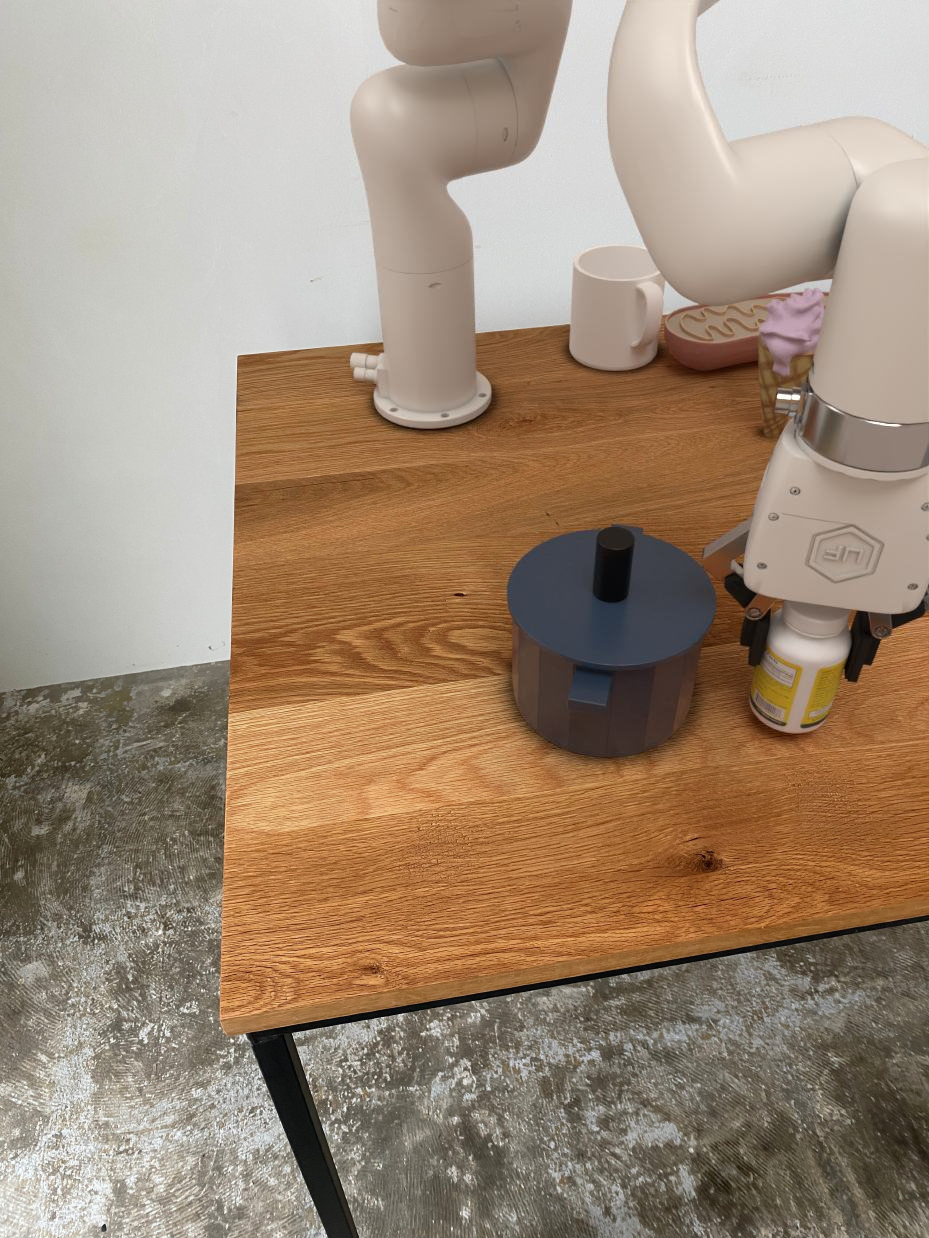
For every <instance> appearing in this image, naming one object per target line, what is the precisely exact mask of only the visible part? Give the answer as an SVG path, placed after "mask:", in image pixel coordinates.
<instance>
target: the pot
mask: <svg viewBox="0 0 929 1238" xmlns="http://www.w3.org/2000/svg"><path fill="white" fill-rule="evenodd" d="M610 527H622V528H625V529H627V530H629V531H632V532H638V533H641V534H644V527H641V526H634V525H627V524H626V525H625V524H619V523H610ZM511 620H512V624H511V625H512V627H511V629H512V630H511V635H512V636H511V638H512V639H511V640H512V641H511V646H512V647H511V658H512V659H511V683H512V688H513V696H514V701H515V705H516V706H517V709H518V711H519V712H520V715H521V717H522V719H524V721H525V722H526V724H527V726H529V727H530V728H531V729H532V730H533V731H534V732H535V733H536V734H538V735H539V736H540V737H542V738H543V739H544V740H546V741H547V742H549V743H551V744H553V745H555V746H556V747H558V748H560V749H562V750H565V751H568V752H571V753H574V754H578V755H583V756H587V757H595V758H622V757H628V756H635V755H638V754H642V753H644V752H645V753H646V752H647V751H650V750H652V749H655V748H656V747H658V746H660V745H662V744H663V743H665V742H667V741H668V740H669V739H671V738H672V737H673V736H674V735H675V734H676V733H677V731H678V730H679V729H680V728H681V727H682V725H683V723H684V722H685V720H686V718H687V715H688V714H689V712H690V708H691V704H692V699H693V694H694V689H695V683H696V679H697V673H698V669H699V664H700V659H701V653H702V648H703V642H704V639H703V640H702V641H701V642H700V643H699V644H698V645H697V646H696V647H694V648H693V649H692V650H690V651H689V652H688V653H686V654H684V655H682V656H681V657H679V658H677V659H675V660H672V661H670V662H667V663H665V664H661V665H658V666H654V667H650V668H644V669H638V670H624V671H619V670H602V669H593V668H589V667H584V666H579V665H576V664H573V663H570V662H567V661H564V660H562V659H559V658H557V657H555V656H552V655H551V654H549V653H547V652H545V651H543V650H542V649H540V648H539V647H538V646H536V645H535V644H533V643H532V642H531V641H530V640H529V639H528V638H527V637H526V636H524V635H523V633H522V632H521V631H520V630H519V628H518V627H517V626H516V624H515V622H514V621H513V619H512V618H511Z"/></svg>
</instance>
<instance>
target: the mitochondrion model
mask: <svg viewBox="0 0 929 1238" xmlns="http://www.w3.org/2000/svg"><path fill="white" fill-rule="evenodd" d="M829 292H830V291H822V293H823V295H824V298H823V305H824V310H825V308H826V304H827V300H828V296H829ZM803 293H804V291H795V292H794V291H793V292H792V291H791V292H778V293H777V292H774V293H769V294H766V295H763V296H760V297H756V298H753V299H750V300H747V301H742V302H738V303H734V304H730V305H724V306H709V305H701V304H698V303H696V304H692V305H689V306H688V305H687V306H683V307H680V308H678V309H674V310H672V312H670V313H669V314H668V315H667V316H666V317H665V319H664V325H663V326H664V327H663V330H664V331H663V334H664V335H663V336H664V341H665V345H666V347H667V348H668V350H669V352H670V354H671V355H672V356H673V357H674V358H675V359H676V360H677V361H678V362H679V363H680V364H681V365H683V366H685V367H687V368H689V369H692V370H696V371H712V370H717V369H720V368H726V367H730V366H735V365H740V364H745V363H751V362H758V337H759V334H760V332H759V326H760V324H762V322H765V321H766V320H767V318H768V316H769V312H768V311H767V310H766V307H765V306H766V305H767V304H769V303H770V302H771V301H772V300H774V299H779V300H781V301H785V300H787V299H790V295H791V294H797V295H800V296H802V295H803Z"/></svg>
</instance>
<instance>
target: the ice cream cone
mask: <svg viewBox="0 0 929 1238" xmlns="http://www.w3.org/2000/svg"><path fill="white" fill-rule="evenodd" d="M803 292H804V293H803V295H802V296H800V295H797V294H791V295H790V299H787V300H785V301H781V300H779V299H774V300H772V301H771V302H770V303H769V304H767V305H766V306H765V307H766V310H767V311H768V312H769V316H768V318H767V320H766V321H765V322H762V324H760V326H759V332H760V334H759V337H758V360H757V367H758V368H757V369H758V370H757V371H758V387H759V388H758V389H759V396H760V397H759V398H760V399H759V400H760V409H761V418H762V419H761V420H762V426H763V435H764V436H765V437H767V438H771V439H775V438H778V436H780V435H779V434H780V433H781V432H782V431H783V429H784V427H785V425H786V424H787V422H788V419H789V418H790V417H787V414H779V413H773V409H774V402H775V396H776V392H777V389H778V388H783V389H792V387H800V384H801V382H806V379H807V375H808V371H810V370H811V366H812V362H813V358H814V354H815V350H816V345H817V341H818V337H819V333H820V329H821V325H822V321H823V316H824V312H825V310H824V305H823V298H824V295H823V293H822V292H823V290H821V289H820V288H818V287H815V288H813V289H812V288H810V287H806V288H804V291H803Z"/></svg>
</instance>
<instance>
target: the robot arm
mask: <svg viewBox="0 0 929 1238" xmlns="http://www.w3.org/2000/svg"><path fill="white" fill-rule="evenodd" d="M573 1H574V0H376V16H377V23H378V31H379V34H380V37H381V40H382V42H383V45H384V47H385V49H386V50H387V51H388V52H389V53H390V54H391V55H392V57H393V58H394V59H396V60H397V61H399V62H401V63H403V64H399V65H394V66H391V67H388V68H385V69H382V70H379V71H378V72H375V73H374V74H372V75H370V76H369V77H367V78H366V79H365V80H364V81H363V82H362V83H361V84H360V85H359V86H358V87H357V89H356V91H355V92H354V94H353V97H352V99H351V101H350V107H349V123H350V124H349V125H350V133H351V137H352V142H353V145H354V149H355V153H356V157H357V162H358V164H359V169H360V172H361V177H362V180H363V181H362V182H363V185H364V189H365V195H366V200H367V206H368V213H369V219H370V228H371V236H372V245H373V256H374V261H375V262H374V263H375V273H376V284H377V294H378V304H379V314H380V325H381V326H380V327H381V334H382V345H383V346H382V347H383V352H380V353H379V354H378V355H374V354H370V353H364V352H363V353H361V352H352V353H351V355H350V358H349V366H350V370H351V371H352V372H353V373H352V374H353V380H354V381H355V382H356V381H357V382H373V383H374V385H375V387H374V390H373V403H374V407H375V410H376V411H377V412H378V413H379V415H381V416H382V417H383V418H385V419H386V420H388V421H389V422H391V423H394V424H396V425H399V426H403V427H406V428H411V429H413V428H414V429H419V430H420V429H421V430H424V429H425V430H434V429H445V428H449V427H456V426H458V425H462V424H465V423H467V422H470V421H471V420H474V419H476V418H477V417H478V416H480V415H482V414H483V413H484V412H485V411H486V410H487V409H488V408H489V406H490V404H491V401H492V396H493V395H492V385H491V383H490V381H489V380H488V379H487V377H486V376H485V375H484V374H482V373H481V372H479V371H478V370H477V339H476V335H477V333H476V300H475V299H476V298H475V295H476V294H475V260H474V259H475V258H474V236H473V230H472V226H471V224H470V220H469V219H468V216H467V215H466V213H465V212H464V211H463V210H462V208H461V207H460V206H459V205H458V204H457V202H456V201H455V200H454V198H453V197H452V196H451V195H450V193H449V191H448V185H449V183H451V182H453V181H457V180H460V179H463V178H466V177H471V176H475V175H481V174H485V173H489V172H493V171H499V170H502V169H506V168H510V167H513V166H516V165H518V164H520V163H522V162H524V161H525V160H527V159H528V158H529V157H530V156H531V155H532V154H533V152H534V151H535V150H536V147H537V146H538V144H539V142H540V139H541V137H542V134H543V131H544V129H545V125H546V120H547V116H548V112H549V110H550V105H551V101H552V97H553V93H554V88H555V84H556V81H557V77H558V72H559V69H560V64H561V60H562V56H563V52H564V48H565V45H566V41H567V38H568V37H567V36H568V33H569V27H570V23H571V17H572V12H573V11H572V10H573V9H572V8H573ZM720 1H721V0H626V2H625V5H624V7H623V11H622V14H621V17H620V19H619V23H618V26H617V28H616V32H615V35H614V39H613V43H612V49H611V53H610V57H609V66H608V72H607V73H608V74H607V87H606V124H607V139H608V146H609V152H610V157H611V162H612V164H613V167H614V172H615V175H616V178H617V180H618V184H619V186H620V188H621V191H622V194H623V196H624V199H625V201H626V203H627V206H628V208H629V211H630V213H631V216H632V218H633V220H634V223H635V225H636V227H637V230H638V232H639V234H640V237H641V240H642V242H643V244H644V247H645V248H647V250H648V252H649V254H650V256H651V258H652V260H653V262H654V263H655V265H656V267H657V268H658V270H659V271H660V273H661V274H662V276H663V277H664V279H665V282H666V283H667V284H668V285H669V286H670V287H671V288H672V289H673V290H674V291H675V292H677V294H679V295H680V296H681V297H683V298H685V299H687V301H690V302H693V303H695V304H701V305H709V306H724V305H730V304H734V303H738V302H742V301H747V300H750V299H753V298H756V297H760V296H763V295H766V294H774V293H777V292H779V291H783V290H785V289H789V288H792V287H796V286H799V285H802V284H805V283H810V282H819V281H826V280H827V281H828V280H831V284H830V288H829V291H828V292H829V296H828V300H827V304H826V308H825V312H824V316H823V321H822V325H821V329H820V333H819V337H818V341H817V345H816V350H815V354H814V358H813V362H812V366H811V370H810V371H808V375H807V379H806V382H801V384H800V387H792V389H783V388H778V389H777V392H776V396H775V402H774V409H773V413H779V414H787V417H789V418H791V419H789V420H788V421H787V422H786V423H785V425H784V427H783V429H782V431H781V434H780V435H779V438H778V439H777V442H776V444H775V446H774V448H773V451H772V452H771V455H770V458H769V460H768V462H767V465H766V468H765V471H764V474H763V477H762V480H761V483H760V485H759V488H758V491H757V495H756V498H755V501H754V505H753V508H752V512H751V516H750V517H748V518H747V519H746V520H743V522H741V523H739V524H738V525H736V526H734V527H733V528H732V529H729V530H728V531H726V532H725V533H724V534H721V536H719V537H718V538H716V539H714V540H712V541H711V542H710V543H708V544H706V545H705V546H704V547H703V548H702V553H701V567H702V568H703V569H704V570H705V571H707V572H708V573H709V574H711V575H712V576H713V577H714V578H715V579H716V581H718V582H721V583H722V584H723V587H724V589H725V591H726V592H727V593H728V594H729V595H730V596H731V597H732V598H733V599H734V600H735V601H736V602H737V603H738V604H739V605H740V606H741V608H742V609H743V610H744V617H743V622H742V626H741V630H740V639H739V647H740V646H741V647H747V648H748V654H747V655H748V657H747V661H748V662H747V666H748V667H756V666H757V665H760V662H761V658H762V654H763V651H764V647H765V643H766V639H767V635H768V632H769V628H770V617H771V616H772V614H771V612H772V606H773V605H774V604H775V602H776V601H777V600H783V601H784V600H790V601H796V602H803V603H810V604H817V605H824V606H831V607H838V608H845V609H851V611H852V610H853V611H855V613H854V617H853V620H852V623H851V626H850V628H849V630H850V633H851V637H852V646H851V650H850V653H849V656H848V659H847V662H846V665H845V667H844V670H843V673H844V674H843V675H844V679H845V680H847V682H848V683H856V684H857V683H858V681H859V677H860V675H861V674H862V673H861V672H862V670H863V667H864V666H869V667H871V666H873V663H874V660H875V658H876V655H877V652H878V650H879V647H880V644H881V642H882V640H884V639H887V638H889V637H891V636H892V634H893V630H894V629H897V628H899V627H902V626H904V625H906V624H908V623H911V622H913V621H916V620H918V619H920V618H922V617H924V615H925V614H926V613H927V612H929V147H928V146H926V145H924V144H923V143H922V142H919V140H916V138H914V137H912V136H911V135H910V134H907V133H906V132H905V131H903V130H901V129H900V128H898V127H896V126H894V125H892V124H891V123H888V122H886V121H884V120H881V119H878V118H876V117H875V118H874V117H870V116H863V115H862V116H861V115H853V116H843V117H836V118H831V119H826V120H823V121H818V122H813V123H810V124H805V125H797V126H793V127H788V128H784V129H780V130H776V131H771V132H767V133H766V132H765V133H762V134H761V133H760V134H757V135H752V136H747V137H744V138H738V139H735V140H734V139H733V140H730V141H728V140H727V138H726V136H725V134H724V131H723V129H722V127H721V124H720V122H719V120H718V117H717V115H716V112H715V111H714V108H713V105H712V103H711V100H710V98H709V95H708V92H707V90H706V87H705V84H704V80H703V77H702V73H701V70H700V65H699V59H698V52H697V22H698V17H700V16H702V15H703V14H704V13H706V12H707V11H708V10H709V9H711V8H712V7H714V6H715V5H716V4H717V3H718V2H720ZM743 554H744V557H743V563H741V562H737V561H736V559H737V558H739V557H740V556H742V555H743Z"/></svg>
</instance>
